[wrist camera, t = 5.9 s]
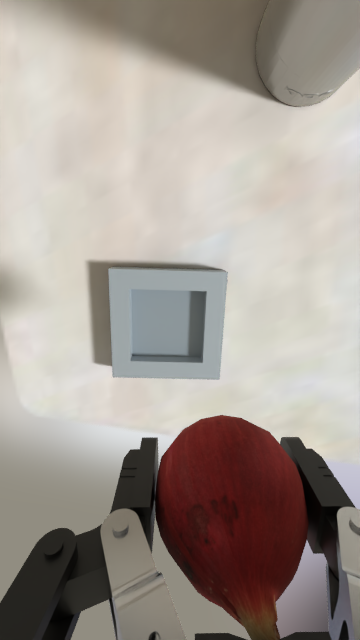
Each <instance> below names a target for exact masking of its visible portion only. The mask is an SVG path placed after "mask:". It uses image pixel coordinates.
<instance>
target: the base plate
mask: <svg viewBox="0 0 360 640" xmlns="http://www.w3.org/2000/svg"><path fill="white" fill-rule="evenodd" d="M108 273H109V298H110V322H111V347H112V372H113V377H125V378H171V379H216V380H219V379H220V366H221V353H222V340H223V327H224V314H225V300H226V287H227V274H228V272H226V271H225V270H209V269H175V268H141V267H112V268H109V269H108Z"/></svg>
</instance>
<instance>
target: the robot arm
mask: <svg viewBox="0 0 360 640" xmlns="http://www.w3.org/2000/svg"><path fill="white" fill-rule="evenodd" d="M256 61H257V66H258V70H259V74H260V77H261V79H262V81H263V83H264V85H265V86H266V88H267V89H268V90H269V91H270V93H271V94H272V95H273V96H275V97H276V98H277V99H278V100H280V101H282V102H284V103H286V104H288V105H292V106H298V107H301V106H310V105H314V104H317V103H320V102H321V101H323V100H325V99H326V98H328V97H330V96H331V95H332V94H333V93H334V92H335V91H336V90H337V89H339V88H340V87H341V86H342V85H343V84H344V83H345V82H346V81H347V80H348V79H349V78H350V77H351V76H352V75H353V74H354V73H355V72H356V71H357V70H358V69H359V68H360V0H269V2H268V5H267V7H266V10H265V13H264V15H263V18H262V21H261V23H260V27H259V31H258V34H257V41H256ZM280 445H281V446H282V448H283V449H284V450H285V452H286V453H287V454H288V455H289V457H290V458H291V459H292V461H293V462H294V463H295V465H296V467H297V470H298V472H299V475H300V478H301V480H302V485H303V490H304V496H305V501H306V506H307V515H308V523H309V524H308V533H307V540H308V543H309V545H310V547H311V549H312V551H313V553H324V555H325V557H326V560H327V565H326V580H327V581H326V582H327V602H328V622H329V631H328V632H296V633H293V634H291V635H289V636H287V637H284V638H282V639H279V640H360V510H359V509H357V508H355V506H354V505H353V503H352V502H351V500H350V499H349V497H348V496H347V494H346V493H345V491H344V490H343V488H342V487H341V485H340V484H339V482H338V481H337V479H336V478H335V477H334V475H333V473H332V472H331V470H330V469H329V468H328V466H327V464H326V463H325V461H324V460H323V458H322V457H321V456H320V455H319V454H317V453H316V452H315V451H314V450H313V449H306V447H305V446H304V444H303V443H302V441H301V440H300V438H299V437H282V438H281V442H280ZM157 474H158V438H142V441H141V447H140V449H138V450H130V451H129V453H128V454H127V455H126V456H125V457H124V460H123V465H122V470H121V473H120V478H119V481H118V485H117V489H116V493H115V497H114V501H113V505H112V510H111V512H110V514H109V515H108V516H107V517H106V519H105V520H104V522H103V523H102V524H101V525H100V526H98V527H97V528H95V529H93V530H91V531H88V532H85V533H82V534H79V535H76V536H75V534H74V533H73V532H72V531H71V530H69V529H67V528H58V529H55V530H52V531H50V532H49V533H47V534H45V535H44V536H43V537H42V538H41V539H40V540H39V541H38V542H37V544H36V545H35V547H34V548H33V550H32V551H31V553H30V555H29V557H28V558H27V560H26V562H25V563H24V565H23V566H22V568H21V570H20V571H19V573H18V575H17V576H16V578H15V580H14V581H13V583H12V585H11V586H10V588H9V589H8V591H7V593H6V595H5V596H4V598H3V599H2V601H1V603H0V640H70V639H71V637H72V634H73V631H74V629H75V626H76V623H77V621H78V618H79V615H80V613H81V611H83V610H85V609H87V608H90V607H92V606H94V605H96V604H99V603H101V602H103V601H106V600H108V601H109V606H110V612H111V617H112V623H113V628H114V634H115V639H116V640H187V639H186V637H185V634H184V631H183V628H182V626H181V623H180V620H179V618H178V615H177V612H176V609H175V606H174V603H173V601H172V598H171V595H170V593H169V590H168V587H167V584H166V582H165V579H164V577H163V575H162V573H158V571H157V568H156V566H155V563H154V560H153V557H152V544H153V532H154V520H155V492H156V483H157ZM195 640H246V639H244V638H241V637H238V636H235V635H232V634H229V633H204V634H195Z"/></svg>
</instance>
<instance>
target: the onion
mask: <svg viewBox="0 0 360 640" xmlns="http://www.w3.org/2000/svg"><path fill="white" fill-rule="evenodd" d="M155 514H156V521H157V525H158V528H159V532H160V536H161V538H162V540H163V542H164V544H165V546H166V548H167V550H168V552H169V553H170V555H171V556H172V558H173V559H174V560H175V562H176V563H177V565H178V566H179V567H180V569H181V570H182V571H183V573H184V574H185V576H186V577H187V578H188V580H189V581H190V582H191V584H192V585H193V586H194V588H195V589H196V590H197V592H198V593H200V594H201V595H202V596H204V597H205V598H206V599H208V600H209V601H211V602H213V603H215V604H216V605H218V606H220V607H222V608H223V609H224V610H225V611H226V612H227V613H229V614H230V615H231V616H232V617H233V618H234V619H236V620H237V621H238V622H239V623H240V624H241V625H243V626H244V627H245V629H246V630H247V632H248V634H249V636H250V638H251V639H252V640H279V639H280V635H279V632H278V629H277V626H276V622H277V611H276V603H275V602H276V601H277V600H278V599H279V597H280V596H281V595H282V593H283V592H284V591H285V589H286V588H287V586H288V585H289V584H290V582H291V581H292V579H293V577H294V575H295V573H296V571H297V569H298V566H299V563H300V560H301V556H302V553H303V550H304V547H305V543H306V540H307V533H308V524H309V523H308V515H307V506H306V501H305V496H304V490H303V485H302V480H301V478H300V475H299V472H298V470H297V467H296V465H295V463H294V462H293V461H292V459H291V458H290V457H289V455H288V454H287V453H286V452H285V450H284V449H283V448H282V446H281V445H280V444H279V443H278V441H277V440H276V439H275V438H274V437H273V436H272V435H271V433H270V432H268V431H266V430H264V429H262V428H260V427H258V426H256V425H254V424H252V423H250V422H248V421H246V420H244V419H242V418H237V417H231V416H224V415H220V416H215V417H210V418H205V419H201V420H199V421H197V422H196V423H194V424H192V425H190V426H189V427H187V428H185V429H184V430H183V431H182V432H181V433H180V434H179V435H178V437H177V438H176V439H175V440H174V442H173V443H172V444H171V446H170V447H169V448H168V450H167V451H166V452H165V453H164V455H163V456H162V458H161V462H160V466H159V470H158V474H157V483H156V492H155Z"/></svg>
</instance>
